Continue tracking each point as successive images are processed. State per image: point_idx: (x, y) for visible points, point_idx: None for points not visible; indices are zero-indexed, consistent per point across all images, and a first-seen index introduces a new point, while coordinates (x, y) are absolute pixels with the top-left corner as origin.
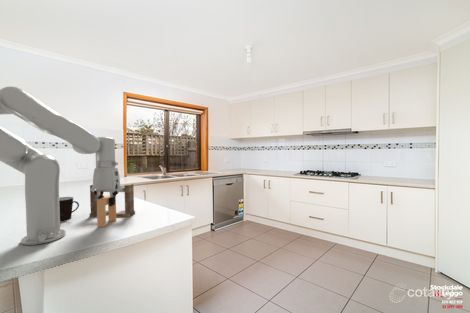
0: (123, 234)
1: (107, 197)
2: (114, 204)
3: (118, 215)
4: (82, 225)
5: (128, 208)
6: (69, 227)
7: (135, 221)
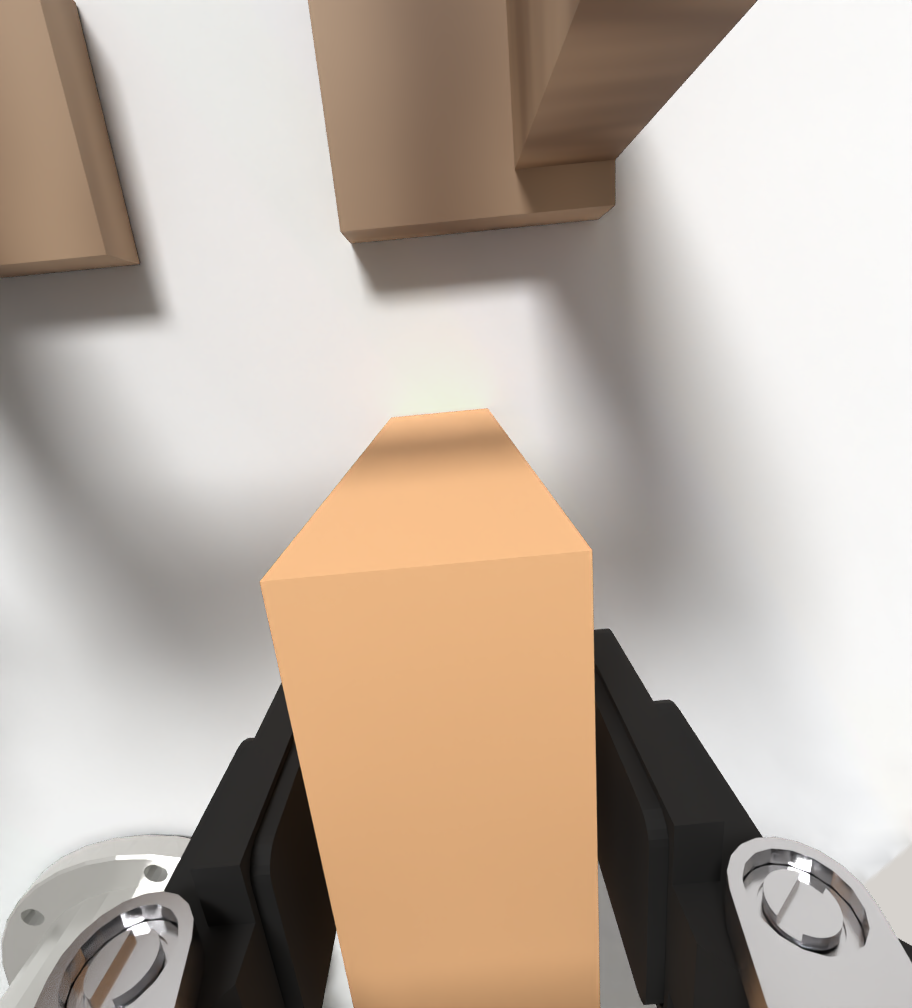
0: (833, 800)
1: (508, 929)
2: (608, 637)
3: (408, 230)
4: (191, 643)
5: (617, 119)
6: (104, 714)
7: (801, 425)
